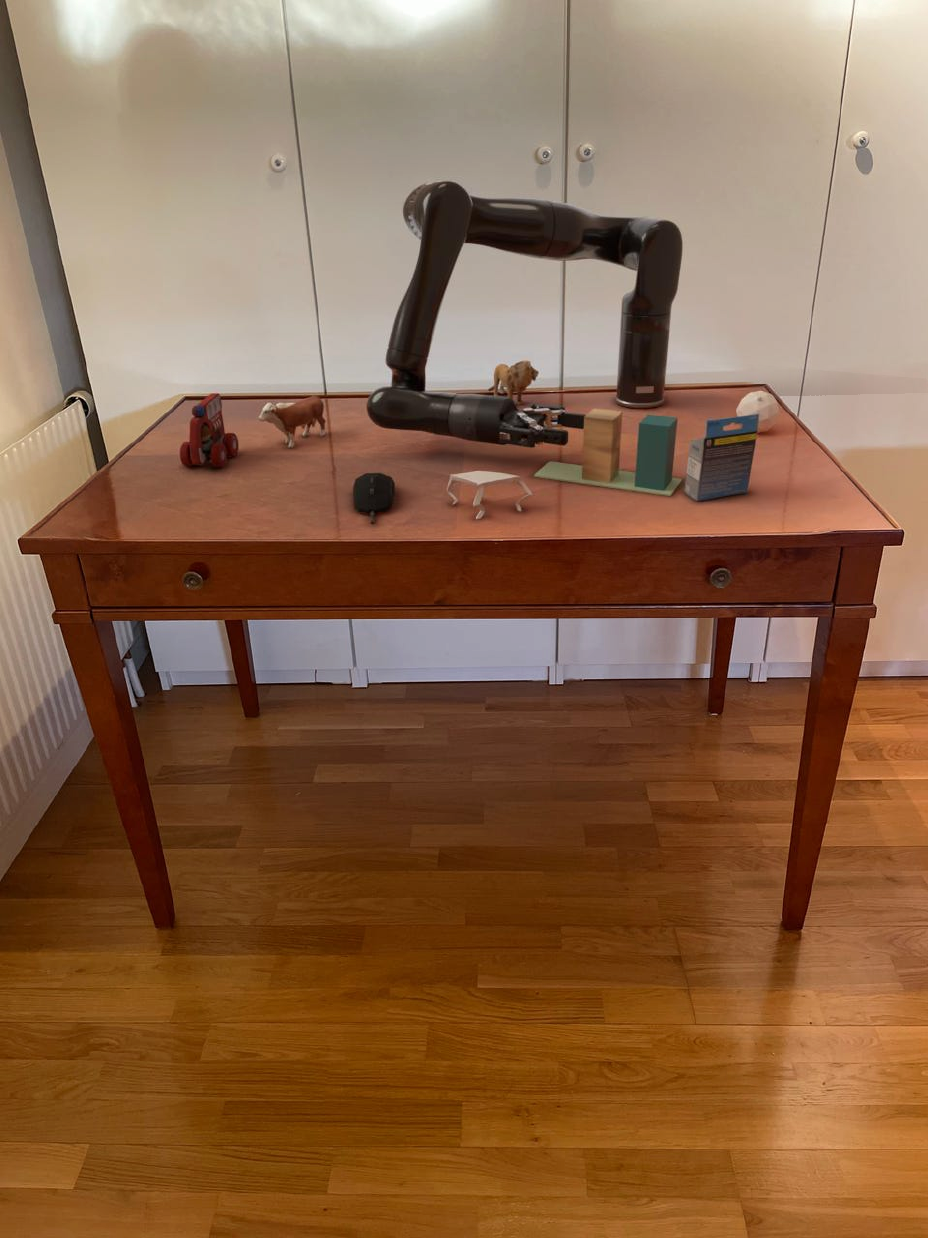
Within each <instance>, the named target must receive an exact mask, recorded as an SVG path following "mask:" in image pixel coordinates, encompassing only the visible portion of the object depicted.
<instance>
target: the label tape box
mask: <svg viewBox="0 0 928 1238" xmlns="http://www.w3.org/2000/svg"><path fill="white" fill-rule="evenodd" d="M758 420H759V414H754V415H746V416H738V417H737V416H729V417H723V418H714V419H706V420H705V433H704V437H702V438H696V439H692V440H690V441H689V447H688V457H687V465H686V473H685V480H684V481H685V482H684V493H685V494H686V495H687V496H688V497H690V498H691V499H692V500H694V501H695V502H701V501H709V500H713V499H719V498H723V497H729V496H735V495H741V494H747V493H748V491H749V485H750V478H751V473H752V467H753V462H754V456H755V450H756V442H757V438H758V433H757V428H758ZM732 424H733V425H735V426H738V425H739V426H740V427H739V428H731V429H724V427H729V426H731V425H732Z"/></svg>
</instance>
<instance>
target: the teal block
mask: <svg viewBox="0 0 928 1238" xmlns="http://www.w3.org/2000/svg"><path fill="white" fill-rule="evenodd" d="M678 420H679V419H678V417H676V416H669V415H668V416H667V415H659V414H650V413H649V414H646V415H645V416H644V417H643V418H642V419H641V421H639V422H638V431H637V445H636V459H635V472H634V473H635V487H641V488H648V489H655V490H662V491H664V490H665V489H666V487H667V486H668V485H669V483H670V482H671V481H672V478H673V471H674V460H675V450H676V440H677V439H676V438H677V429H678V428H677V427H678Z"/></svg>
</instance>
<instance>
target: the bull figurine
mask: <svg viewBox="0 0 928 1238" xmlns="http://www.w3.org/2000/svg"><path fill="white" fill-rule="evenodd" d="M324 410H325V407H324V402H323V400H322V398H321V397H320V396H319V395H318V394H317V395H316V394H314V395H312V396H309V397H306V398H303V399H301V400H298V401H295V402H287V403H284V402H278V403H276V404H273V403H271V402H267V403H266V404H265V405H264V406H263V408H262V410H261V413H260V414H259V415H258V420H259V422H265V421H266V422H267V423H268V424H273V425H274V427H275V428H277V429H278V430H279V431H280V432H282V433H283V434H284V435H285V436H286V438H285V441H284V444H285V445H287V449H294V447H295V443H294V438H295V435H296V430H297V427H301V429H302V430H304V429H305V430H304V431H303V433H302V435H301V436H302V437H303V438H306V437H308V436H309V434H310V429H311V427H312V428H315V426H316V423H317V422H318V424H319V425H320V433H319V437H325V435H326V433H327V432H326V419H325V418H324V416H323V415H324Z"/></svg>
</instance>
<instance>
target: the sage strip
mask: <svg viewBox="0 0 928 1238" xmlns="http://www.w3.org/2000/svg"><path fill="white" fill-rule="evenodd" d="M533 478H538V479H544V480H545V479H547V480H554V481H559V482H560V481H561V482H568V483H575V484H579V485H580V484H581V485H587V486H588V485H589V486H593V487H594V486H595V487H600V488H601V487H603V488H609V489H614V490H615V489H616V490H621V491H630V492H637V493H643V494H650V495H658V496H664V497H672V495H673V494H674V492H675V491H676V490H677V488H678V487H679V486H680V484H681V483H682V482H683V478H678V477H672V481H671V482H670V483H669V485H668V486H667V487H666V489H665V490H664V491H662V490H655V489H648V488H641V487H635V472H634V471H626V470H619V473H618V474H617V476H616V477H615V478H614V479H613V480H612V481H611V482H610V483H606V482H599V481H592V480H585V479H582V464H574V463H567V462H560V461H559V462H558V461H553V460H550V461H548V462H547V463H546V464H545V465H544V466H543V467H541V468H540V469H539V470H538V471H537V472H536V473H534V474H533Z"/></svg>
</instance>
